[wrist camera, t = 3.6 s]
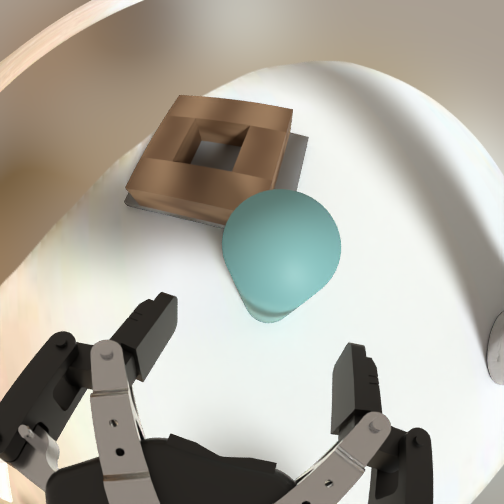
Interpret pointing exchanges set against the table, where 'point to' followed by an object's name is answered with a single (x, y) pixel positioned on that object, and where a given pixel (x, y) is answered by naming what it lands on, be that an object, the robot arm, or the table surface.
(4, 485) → the white toy figurine
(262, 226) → the peg
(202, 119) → the socket
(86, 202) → the table surface
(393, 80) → the table surface
